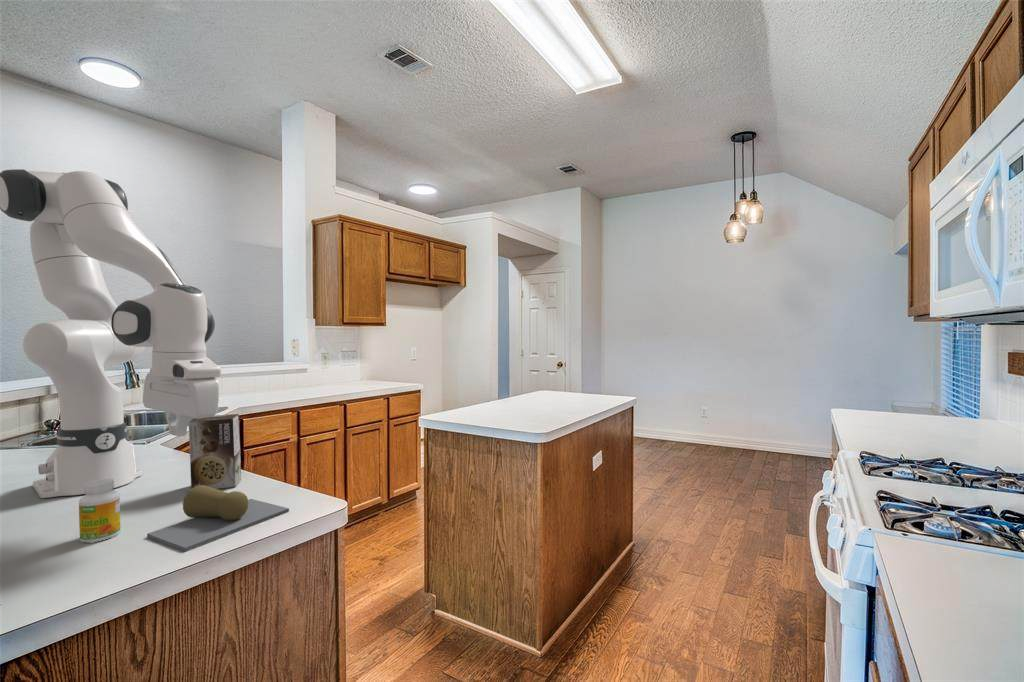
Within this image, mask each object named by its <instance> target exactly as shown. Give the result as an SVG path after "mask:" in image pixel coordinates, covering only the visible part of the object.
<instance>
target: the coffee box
mask: <svg viewBox="0 0 1024 682" xmlns="http://www.w3.org/2000/svg"><path fill="white" fill-rule="evenodd" d="M240 432H241V431H240V414H239V413H235V414H233V413H231V414H218V415H217V414H215V416H213V417H208V418H200V419H196V418H192V419H191V420H190V422H189V424H188V440H189V443H188V444H189V460H190V461H189V462H190V466H189V467H190V468H189V469H190V490H191V489H193V488H194V487H196V486H199V485H205V486H208V487H212V488H215V489H218V490H221V489H228V488H236V487H237V486H238V485H239V483H240V482H241V481H242V461H241V460H242V459H241V436H240V434H241V433H240Z"/></svg>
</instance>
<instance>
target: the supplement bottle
mask: <svg viewBox="0 0 1024 682" xmlns="http://www.w3.org/2000/svg"><path fill="white" fill-rule="evenodd" d="M84 493H86V494H84V495H83V496H82V497H80V499H79V501H78V516H79V517H78V521H79V540H80V542H82V543H84V542H87V544H90V543H89V542H93V543H97V542H98V541H99V542H101V541H102V540H103V541H106V539H107V540H110V539H112V538H115V537H116V536H118V535H119V534H120V532H121V507H120V506H121V504H120V503H121V502H120V501H121V499H120V493H119V491H117V490H115V488H114V479H98V480H94V481H90V482H87V483H85V484H84ZM114 536H115V537H114ZM109 538H110V539H109ZM103 541H102V542H103Z"/></svg>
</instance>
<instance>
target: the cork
mask: <svg viewBox="0 0 1024 682" xmlns="http://www.w3.org/2000/svg"><path fill="white" fill-rule="evenodd" d="M248 500H249V498H248V496H247V495H246V494H245V493H243V492H242V491H236V490H235V491H231V492H226V491H223V490H221V489H215V488H212V487H208V486H205V485H199V486H196V487H194V488H193V489H191V488H190V490H189V491H188V492H187V493H186V495H185V497H184V499H183V502H182V510H183V512H184V514H185V515H186V516H187V517H189V518H190V519H192V518H195V517H221V518H222V519H224V520H227V521H233V520H237V519H239V518H240V517H242V516H243V515H244V514H245V512H246V511H247V509H248V505H249V502H248Z"/></svg>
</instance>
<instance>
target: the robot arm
mask: <svg viewBox="0 0 1024 682" xmlns="http://www.w3.org/2000/svg"><path fill="white" fill-rule="evenodd" d="M128 210H129V203H128V198H127V195H126V193H125V190H124V189H123V188H122V186H121V185H119V184H118V183H116V182H114V181H111V180H108V179H105V178H103V177H102V176H100V175H98V174H95V173H93V172H88V171H83V170H76V171H69V172H53V171H37V170H35V171H34V170H32V171H31V170H29V171H28V170H26V169H4V170H2V171H0V211H1V212H2V213H4V214H5V215H6V216H7V217H9V218H12V219H14V220H19V221H25V222H30V223H31V222H32V223H31V224H30V228H29V239H30V240H29V241H30V249H31V255H32V259H33V264H34V266H35V267H34V268H35V271H36V274H37V277H38V282H39V285H40V287H41V292H42V295H43V297H44V299H45V300H46V301H47V302H48V303H49V304H51V305H52V306H54V307H55V308H57V309H59V310H60V311H61V312H62V313H64V314H65V316H66V317H67V318H68V319H64V318H63V319H56V320H50V321H45V322H40V323H37V324H35V325H33V326H32V327H30V328H29V329H28V331H26V333H25V335H24V337H23V341H22V348H23V352H24V354H25V356H26V358H27V359H28V360H29V361H30V362H31V363H32V364H34V365H36V366H38V367H40V368H41V369H42V370H43V371H44V372H45V373H46V374H47V375H48V377H49V378H50V380H51V382H52V384H53V385H54V387H55V390H56V393H57V397H58V402H59V403H58V405H59V415H60V417H59V418H60V428H59V429H58V431H57V432H58V433H57V435H56V445H57V446H56V448H55V449H54V450H53V452H52V453H51V454H50V455H49V457H47V459H46V460H45V463H40V464H38V467H37V469H38V475H45V477H43V478H41V479H40V478H39V479H37V480H33V482H32V484H31V485H32V488H33V489H34V491H35V492H36V494H37V495H38V496H39V498H40V499H47V498H48V499H50V498H54V497H55V498H56V497H63V496H64V497H65V496H66V497H67V496H78V495H86V493H84V484H85V483H87V482H90V481H94V480H98V479H114V488H113V489H115V488H119V487H122V486H126V484H127V485H128V484H130V483H132V482H133V481H135V479H137V478H138V477H142V476H143V470H140V469H139V470H138V469H137V467H136V466H137V465H136V458H135V449H134V448H135V447H134V444H133V443H132V442H131V441H128V440H127V439H126V438H127V437H128V436H127V435H128V433H127V432H128V428H127V422H125V420H124V417H125V415H124V413H125V412H124V393H123V391H122V389H121V388H120V386H117V385H115V384H114V383H113V382H111V380H110V379H109V377H108V375H107V373H106V369H105V367H104V366H116V365H122V364H125V363H127V362H131V361H133V360H137V359H138V358H139V357H141V356H142V355H143V354H144V352H145V351H146V348H150V347H151V348H152V351H151V368H150V369H149V372H148V373H147V374H146V375H145V378H144V384H143V393H142V404H143V406H144V407H145V408H146V409H151V410H156V411H160V412H165V419H166V422H167V424H168V433H169V435H171V436H174V437H177V438H179V437H185V436H187V434H188V427H189V425H188V424H189V422H190V421H191V420H192V419H194V418H196V419H200V418H208V417H213V416H215V415H217V412H218V410H219V401H220V400H219V399H220V384H219V381H218V379H217V378H219V377H221V373H222V372H221V371H222V370H221V367H220V365H218V364H217V363H215V362H214V361H212V360H211V359H210V358H209V357H208V356H207V352H208V351H207V350H208V349H207V347H206V343H207V342H208V341H209V340H210V339H211V337H212V336H213V334H214V331H215V329H216V328H215V327H216V326H215V323H216V322H215V318H214V315H213V314H212V312H211V311H210V309H209V308H208V306H207V301H206V300H207V299H206V297H205V293H204V292H203V290H201V289H199V288H198V287H196V286H195V287H194V286H190V285H188V284H187V283H186V281H185V279H184V278H183V277H182V276H181V274H180V272H179V270H177V268H176V267H175V265H174V263H172V262H171V260H170V259H169V257H168V256H167V254H166V253H165V252H164V251H163V250H162V249H160V247H159V246H157V245H156V244H155V243H154V242H153V241H152V240H150V239H149V237H148V236H147V235H146V234H144V233H143V232H142V230H141V229H140V228H139V227H138V225H137V224H136V223H135V222H134V220H133V218H132V217H131V215H130V214H129V212H128ZM100 262H102V263H105V264H108V265H111V266H115V267H118V268H120V269H124V270H126V271H129V272H130V273H134V274H135V275H137V276H139V277H141V278H142V279H143V280H145V281H146V282H147V283H149V285H150V286H151V287H152V289H153V291H152V292H150V293H148V294H146V295H144V296H142V297H138V298H134V299H130V300H125V301H123V302H121V303H120V304H118V305H117V303H116V302H115V300H114V299H113V297H112V296H111V294H110V293H111V292H109V289H108V286H107V284H106V280H105V278H104V275H103V271H102V268H101V264H100Z"/></svg>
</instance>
